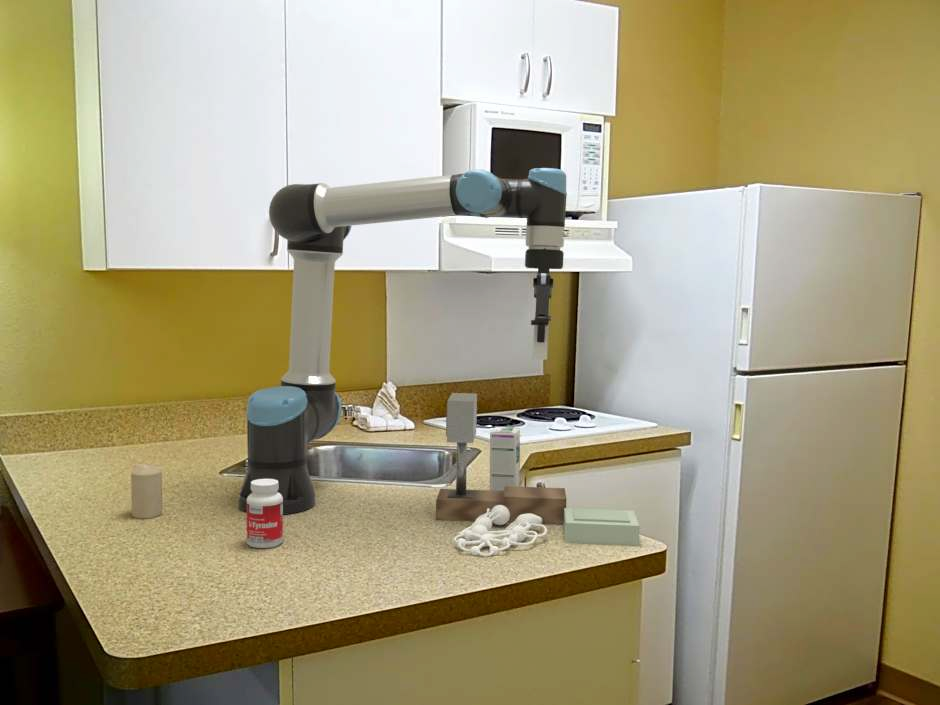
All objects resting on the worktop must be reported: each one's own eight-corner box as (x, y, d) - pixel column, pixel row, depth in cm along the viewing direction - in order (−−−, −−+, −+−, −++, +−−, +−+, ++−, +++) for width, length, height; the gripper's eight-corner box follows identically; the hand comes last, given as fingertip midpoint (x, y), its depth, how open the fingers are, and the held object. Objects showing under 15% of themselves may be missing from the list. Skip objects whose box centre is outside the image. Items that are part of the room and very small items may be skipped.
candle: (168, 512, 164) (167, 462, 163) (149, 520, 159) (148, 468, 158) (145, 509, 166) (144, 459, 165) (125, 517, 161) (124, 465, 160)
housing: (435, 519, 163) (436, 494, 162) (440, 507, 171) (440, 483, 170) (565, 524, 161) (566, 499, 161) (563, 512, 169) (564, 488, 168)
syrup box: (515, 500, 178) (517, 432, 176) (488, 498, 179) (489, 430, 177) (519, 493, 183) (521, 427, 182) (493, 491, 184) (494, 425, 183)
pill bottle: (243, 549, 144) (243, 486, 143) (249, 538, 150) (249, 477, 149) (280, 549, 144) (280, 486, 143) (285, 537, 150) (285, 477, 149)
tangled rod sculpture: (504, 572, 139) (506, 549, 138) (433, 548, 147) (435, 526, 146) (557, 538, 155) (559, 517, 155) (491, 518, 163) (493, 498, 162)
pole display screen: (449, 486, 171) (450, 392, 169) (475, 487, 171) (477, 393, 169) (444, 500, 161) (446, 400, 159) (472, 501, 161) (473, 401, 159)
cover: (565, 544, 151) (566, 520, 150) (563, 528, 160) (564, 505, 159) (638, 547, 150) (639, 523, 149) (632, 531, 159) (633, 508, 158)
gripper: (565, 247, 153) (560, 363, 155) (562, 250, 178) (557, 350, 180) (524, 246, 154) (519, 361, 156) (526, 249, 179) (522, 348, 181)
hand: (540, 355), depth 168 cm, fingers open, 13 cm apart
